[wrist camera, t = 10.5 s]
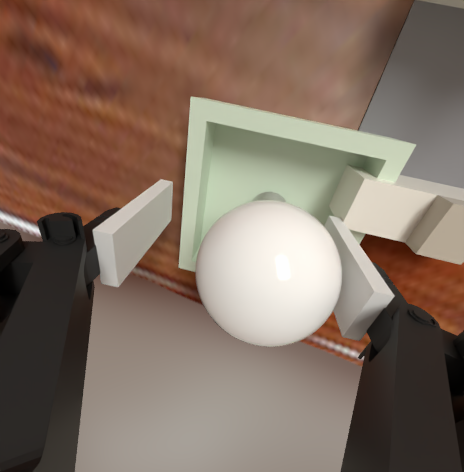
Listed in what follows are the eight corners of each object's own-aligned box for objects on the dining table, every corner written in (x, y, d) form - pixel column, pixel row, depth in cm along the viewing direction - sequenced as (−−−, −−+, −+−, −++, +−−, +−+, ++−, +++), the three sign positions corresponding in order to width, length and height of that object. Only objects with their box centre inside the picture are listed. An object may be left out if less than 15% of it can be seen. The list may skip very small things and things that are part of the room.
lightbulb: (246, 250, 19) (220, 386, 10) (213, 182, 17) (137, 279, 7) (322, 228, 17) (381, 374, 8) (298, 147, 15) (340, 219, 5)
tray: (190, 247, 21) (178, 267, 18) (205, 98, 15) (190, 96, 12) (318, 278, 20) (325, 304, 18) (390, 137, 14) (416, 144, 12)
